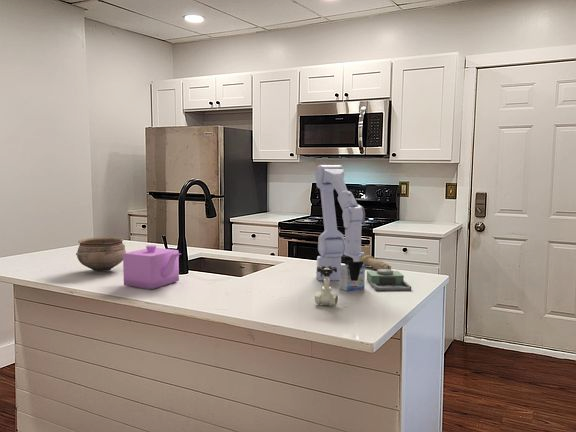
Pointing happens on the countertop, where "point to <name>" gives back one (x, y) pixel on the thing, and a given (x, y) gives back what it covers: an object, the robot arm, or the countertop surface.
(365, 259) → the handle
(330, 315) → the countertop surface
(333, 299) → the valve
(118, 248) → the cooking pot
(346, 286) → the medicine box
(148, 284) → the teapot
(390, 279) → the green block with dome
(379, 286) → the gray rectangular tray
